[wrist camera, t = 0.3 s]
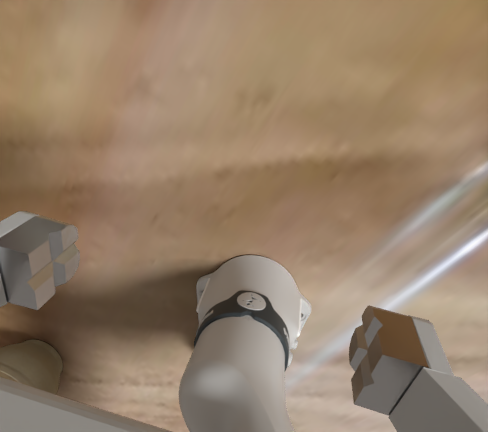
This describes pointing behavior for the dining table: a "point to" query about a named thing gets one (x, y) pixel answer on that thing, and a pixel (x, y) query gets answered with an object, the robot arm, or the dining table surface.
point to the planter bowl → (32, 365)
